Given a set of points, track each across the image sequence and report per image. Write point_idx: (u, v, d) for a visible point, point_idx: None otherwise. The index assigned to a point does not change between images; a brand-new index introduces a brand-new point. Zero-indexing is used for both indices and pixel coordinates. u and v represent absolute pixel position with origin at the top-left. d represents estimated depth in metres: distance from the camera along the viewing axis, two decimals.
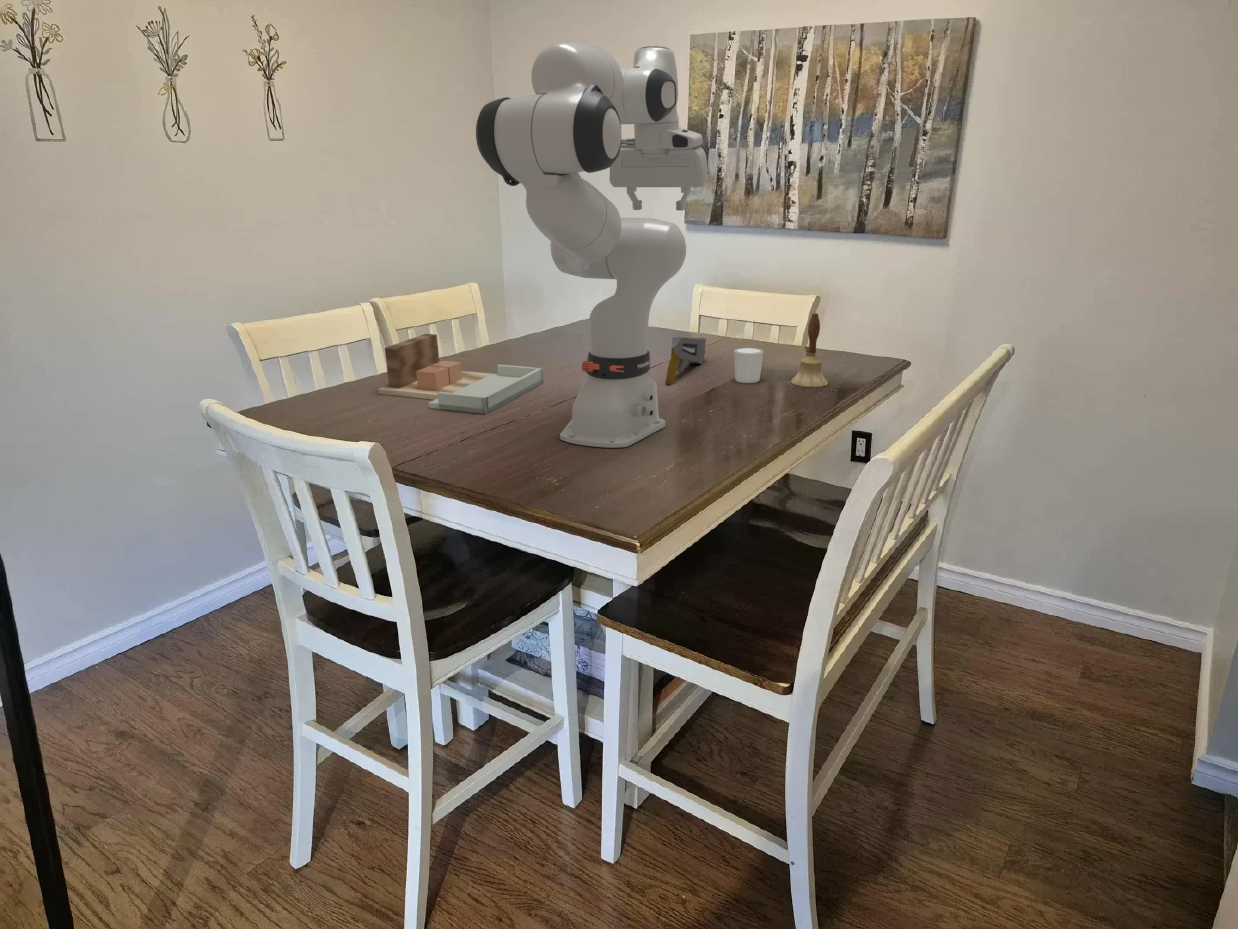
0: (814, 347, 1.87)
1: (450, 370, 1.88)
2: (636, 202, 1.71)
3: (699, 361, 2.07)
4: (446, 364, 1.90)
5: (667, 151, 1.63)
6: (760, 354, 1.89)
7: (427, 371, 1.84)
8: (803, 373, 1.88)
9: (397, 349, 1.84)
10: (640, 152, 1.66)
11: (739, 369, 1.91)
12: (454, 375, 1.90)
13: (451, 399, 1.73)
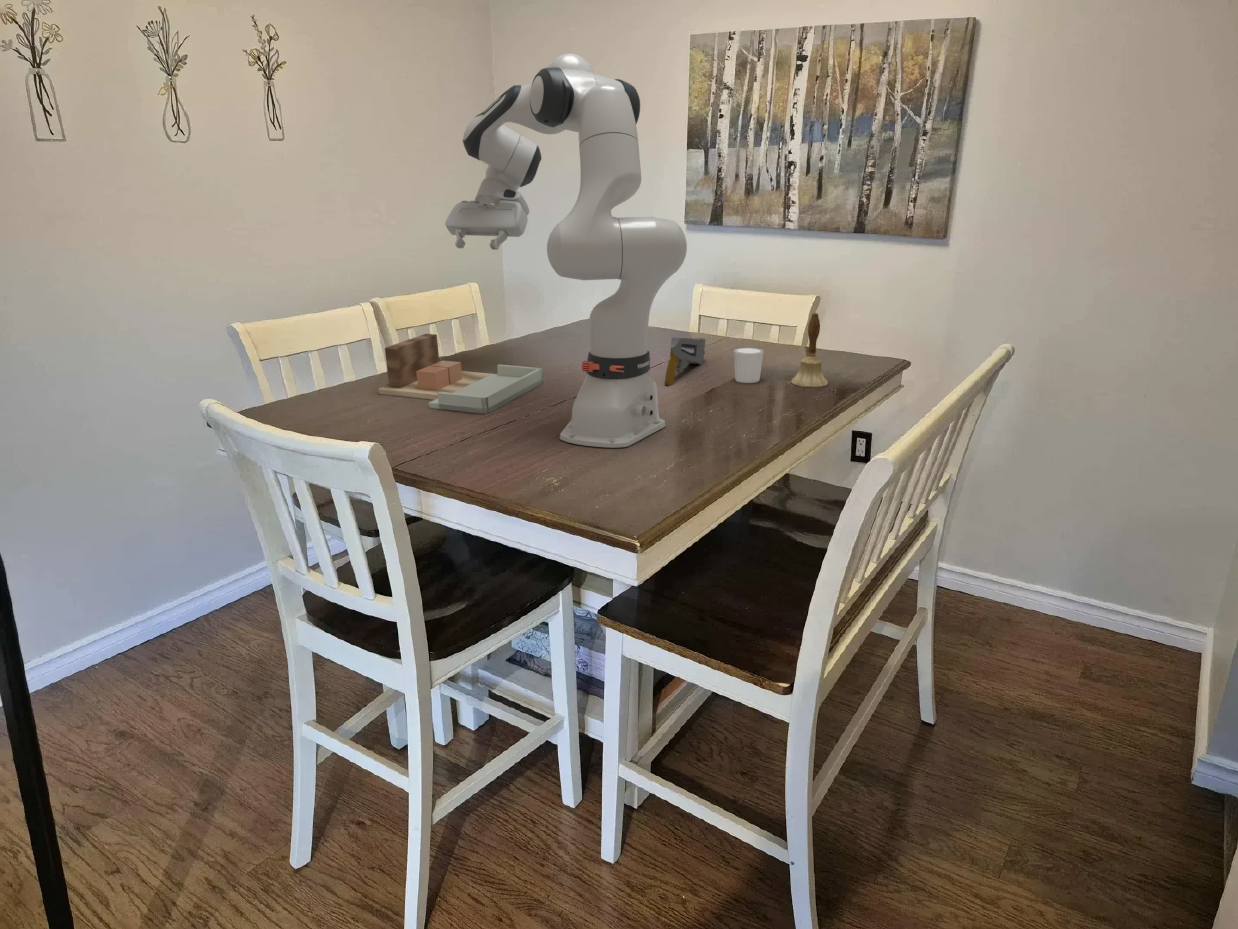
0: (814, 347, 1.87)
1: (450, 370, 1.88)
2: (460, 239, 1.98)
3: (698, 362, 2.06)
4: (446, 364, 1.90)
5: (498, 203, 1.98)
6: (760, 354, 1.89)
7: (427, 371, 1.84)
8: (803, 373, 1.88)
9: (397, 349, 1.84)
10: (477, 204, 2.00)
11: (739, 369, 1.91)
12: (454, 375, 1.90)
13: (451, 399, 1.73)
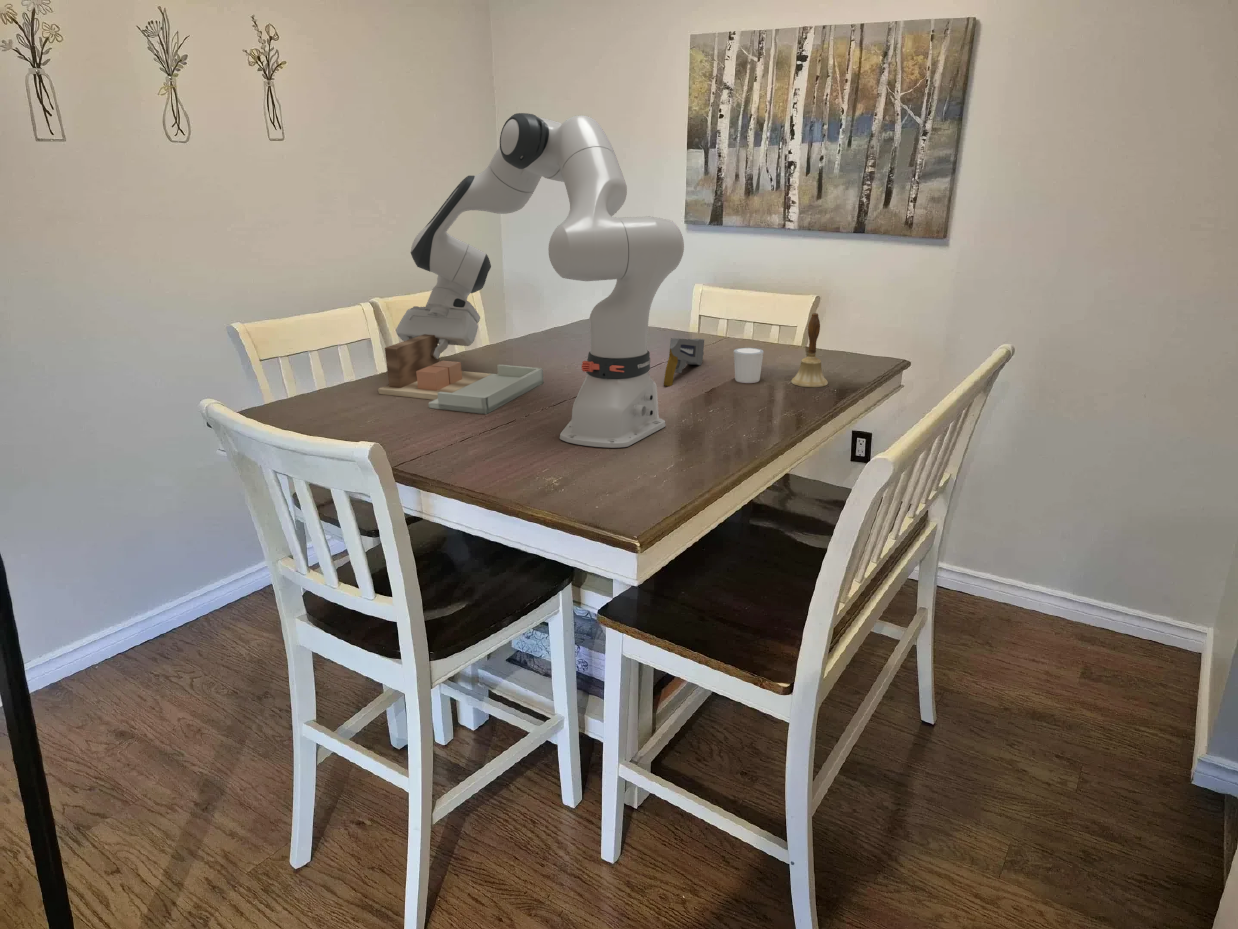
0: (814, 347, 1.87)
1: (450, 370, 1.88)
2: None
3: (697, 362, 2.05)
4: (446, 364, 1.90)
5: (448, 312, 1.98)
6: (760, 354, 1.89)
7: (427, 371, 1.84)
8: (803, 373, 1.88)
9: (397, 349, 1.84)
10: (427, 311, 2.00)
11: (739, 369, 1.91)
12: (454, 375, 1.90)
13: (451, 399, 1.73)
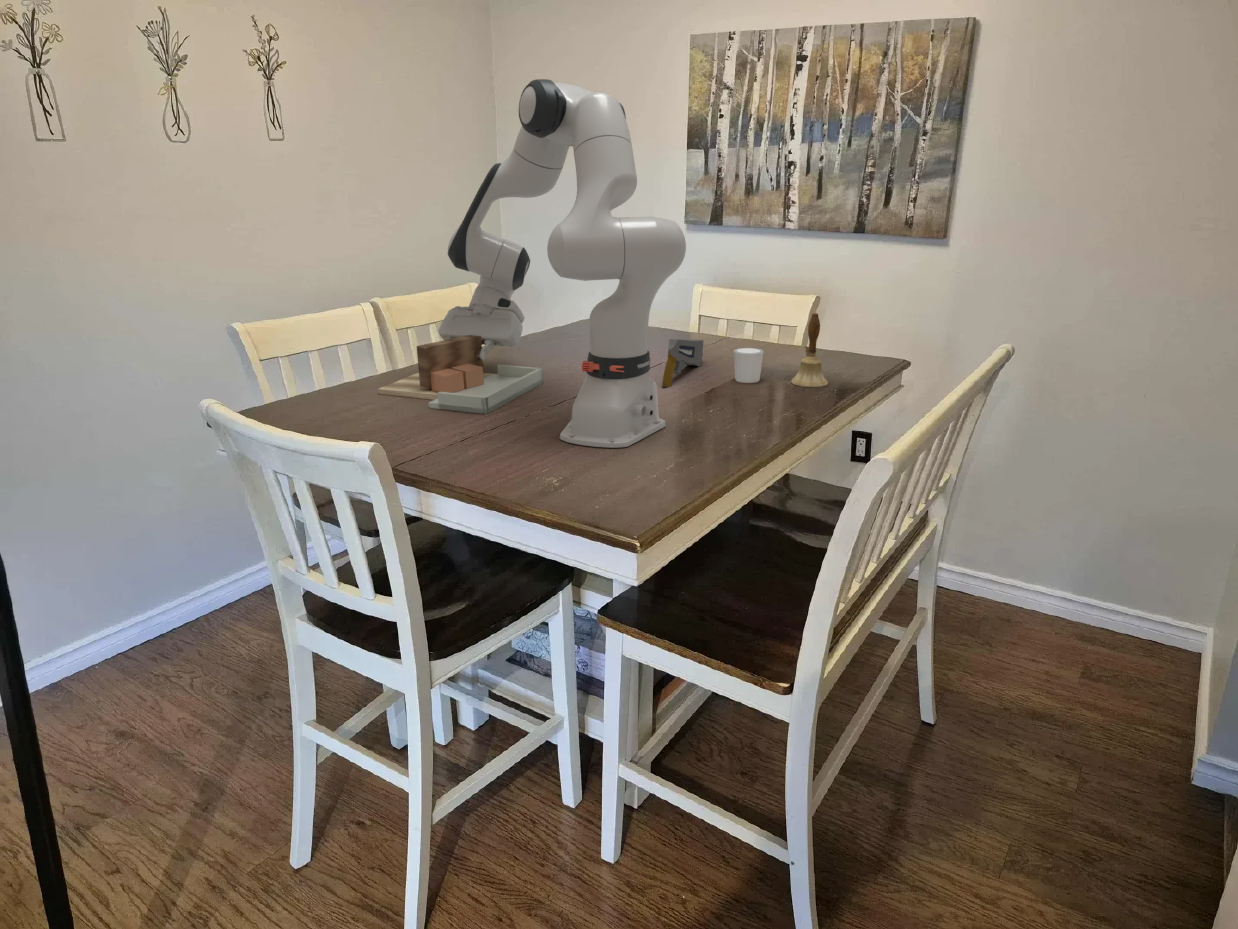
0: (814, 347, 1.87)
1: (467, 374, 1.84)
2: None
3: (696, 363, 2.05)
4: (466, 368, 1.86)
5: (492, 312, 1.94)
6: (760, 354, 1.89)
7: (440, 374, 1.82)
8: (803, 373, 1.88)
9: (427, 348, 1.81)
10: (471, 311, 1.96)
11: (739, 369, 1.91)
12: (473, 380, 1.86)
13: (451, 399, 1.73)
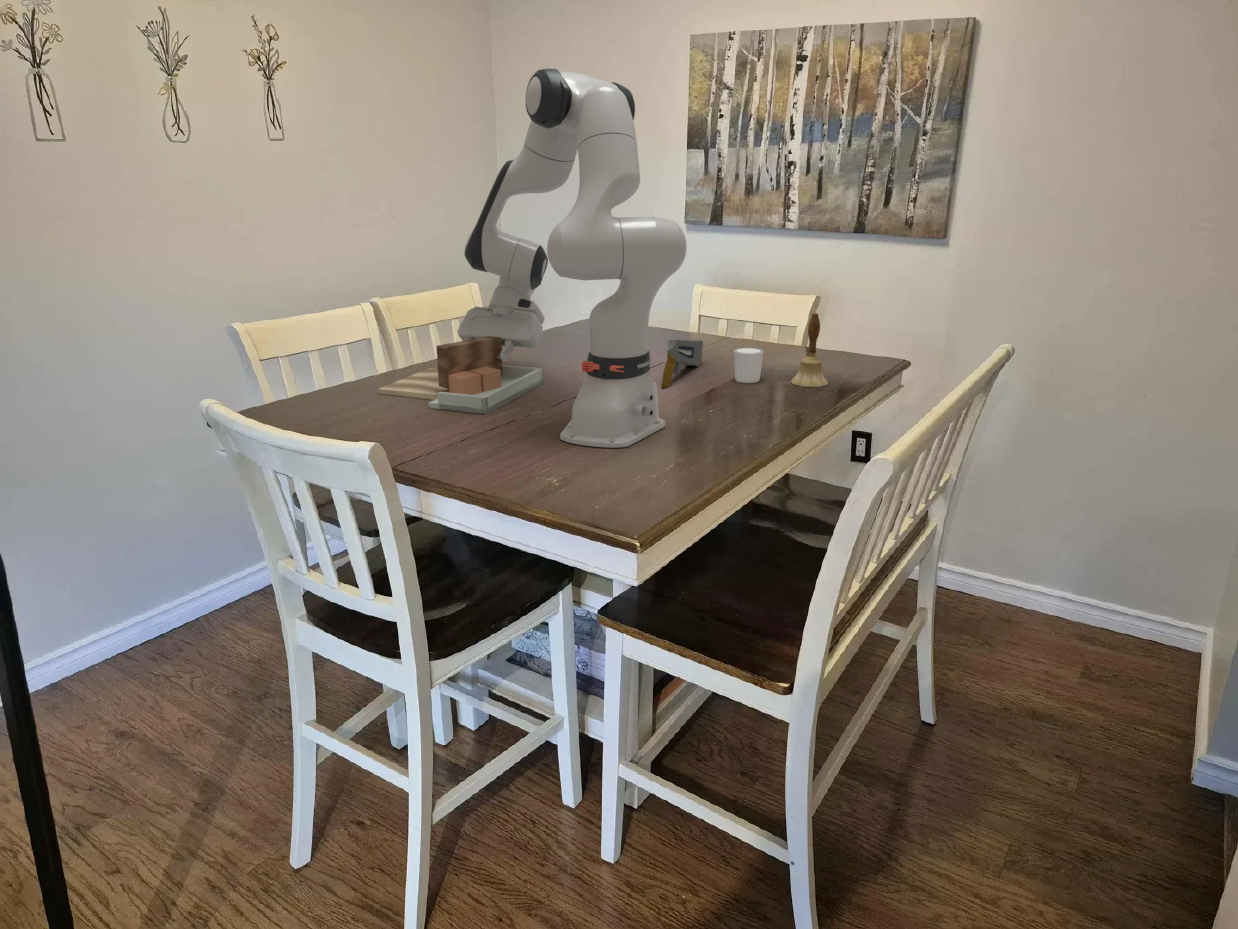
0: (814, 347, 1.87)
1: (484, 377, 1.82)
2: None
3: (696, 364, 2.04)
4: (484, 370, 1.84)
5: (512, 313, 1.92)
6: (760, 354, 1.89)
7: (457, 376, 1.80)
8: (803, 373, 1.88)
9: (447, 348, 1.79)
10: (490, 312, 1.94)
11: (739, 369, 1.91)
12: (490, 383, 1.84)
13: (451, 399, 1.73)
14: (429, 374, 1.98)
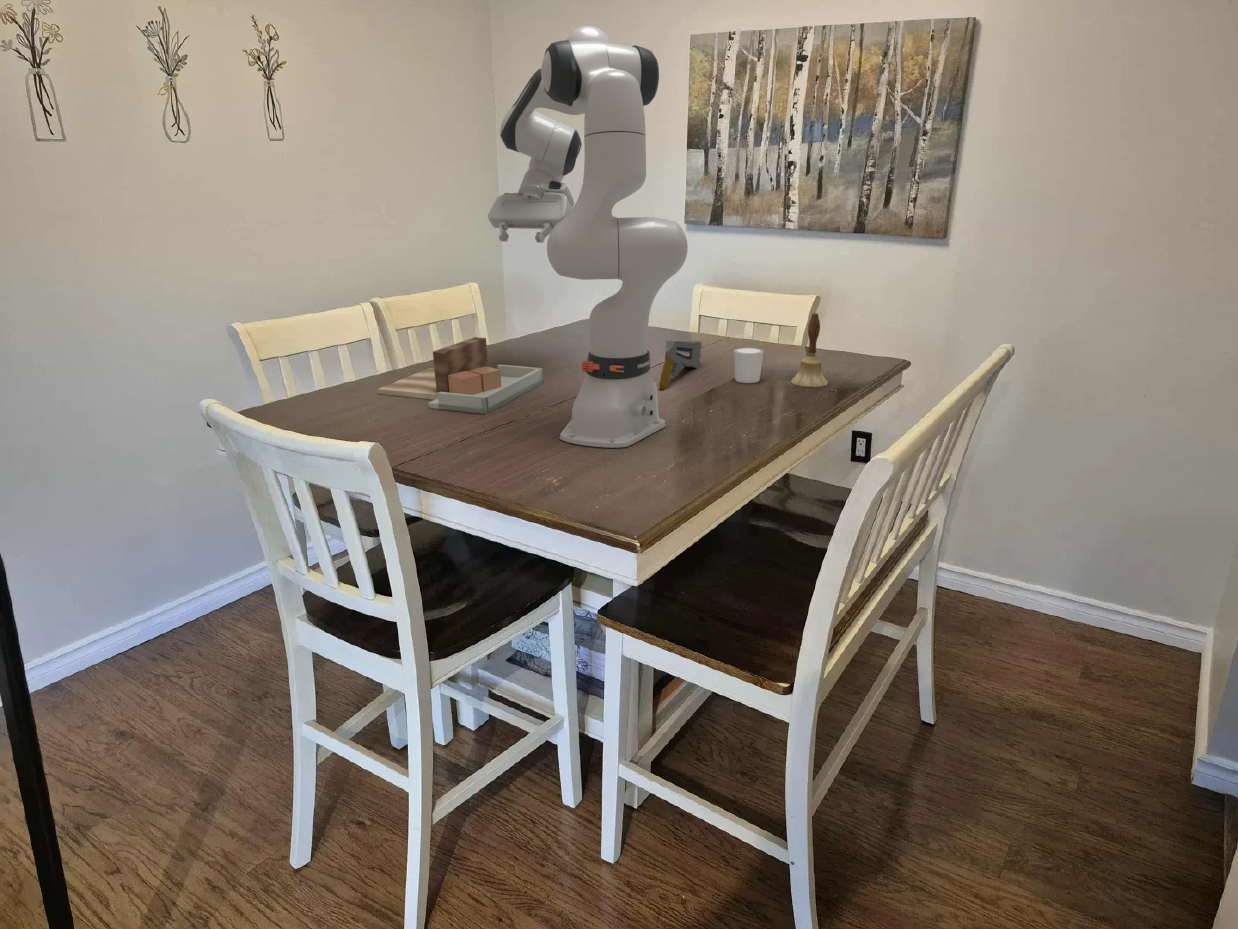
0: (814, 347, 1.87)
1: (484, 377, 1.82)
2: (503, 231, 1.93)
3: (694, 365, 2.03)
4: (484, 370, 1.84)
5: (542, 195, 1.93)
6: (760, 354, 1.89)
7: (457, 376, 1.80)
8: (803, 373, 1.88)
9: (445, 353, 1.79)
10: (521, 196, 1.95)
11: (739, 369, 1.91)
12: (491, 383, 1.84)
13: (451, 399, 1.73)
14: (429, 374, 1.98)
